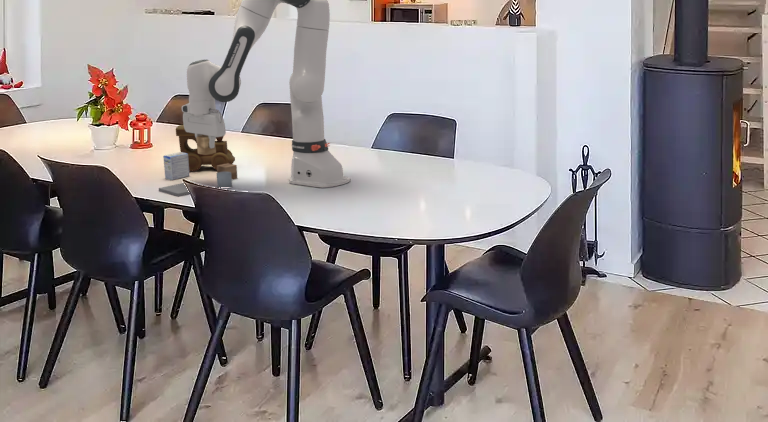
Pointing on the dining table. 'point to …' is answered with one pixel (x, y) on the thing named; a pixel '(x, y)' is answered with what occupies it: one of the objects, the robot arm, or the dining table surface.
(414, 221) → the dining table surface
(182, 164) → the medicine box
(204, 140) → the oak block
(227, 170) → the walnut cube
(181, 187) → the charcoal mat
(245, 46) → the robot arm
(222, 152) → the wooden toy train
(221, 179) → the blue-grey cube
